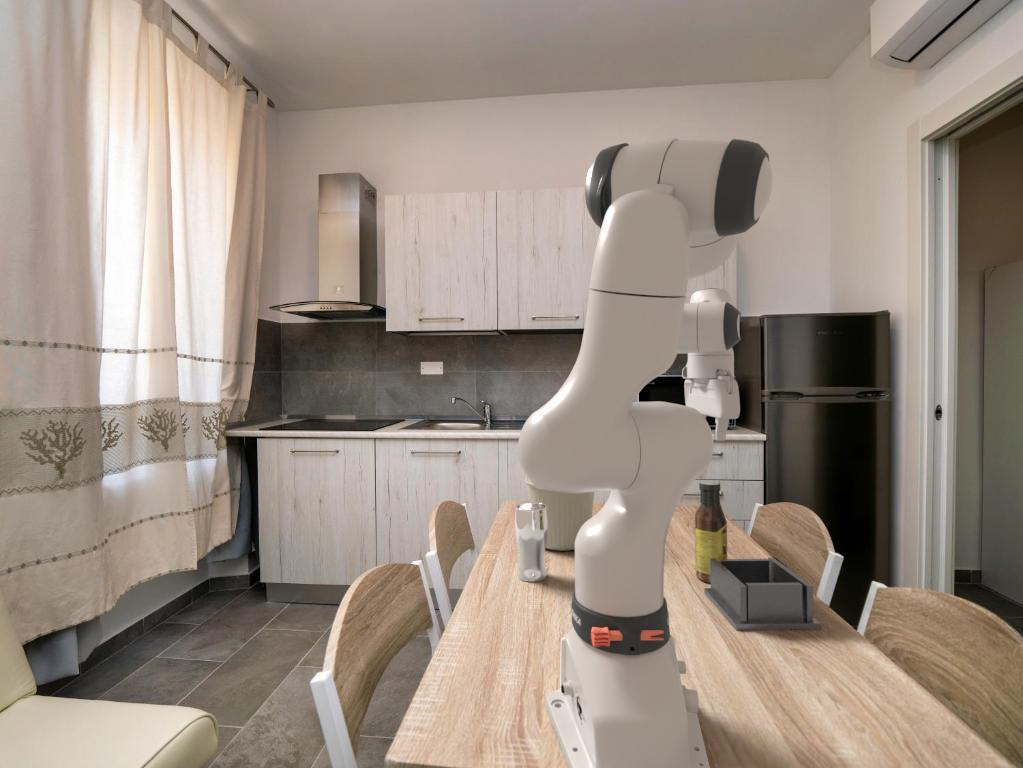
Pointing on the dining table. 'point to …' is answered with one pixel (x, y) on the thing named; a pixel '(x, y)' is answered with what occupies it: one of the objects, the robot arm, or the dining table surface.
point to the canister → (563, 514)
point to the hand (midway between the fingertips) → (710, 437)
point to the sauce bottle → (709, 530)
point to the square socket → (761, 595)
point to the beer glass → (531, 540)
